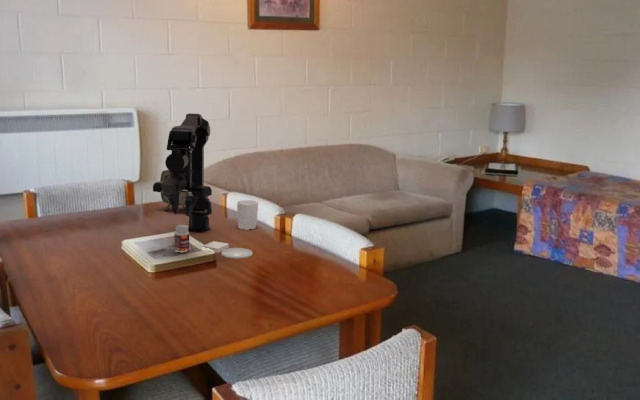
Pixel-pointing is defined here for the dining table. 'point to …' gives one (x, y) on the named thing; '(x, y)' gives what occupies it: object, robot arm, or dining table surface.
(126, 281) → the dining table surface
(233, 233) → the dining table surface
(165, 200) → the tabletop clock
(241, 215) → the white cup
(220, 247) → the tile
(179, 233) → the pill bottle
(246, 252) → the coaster
